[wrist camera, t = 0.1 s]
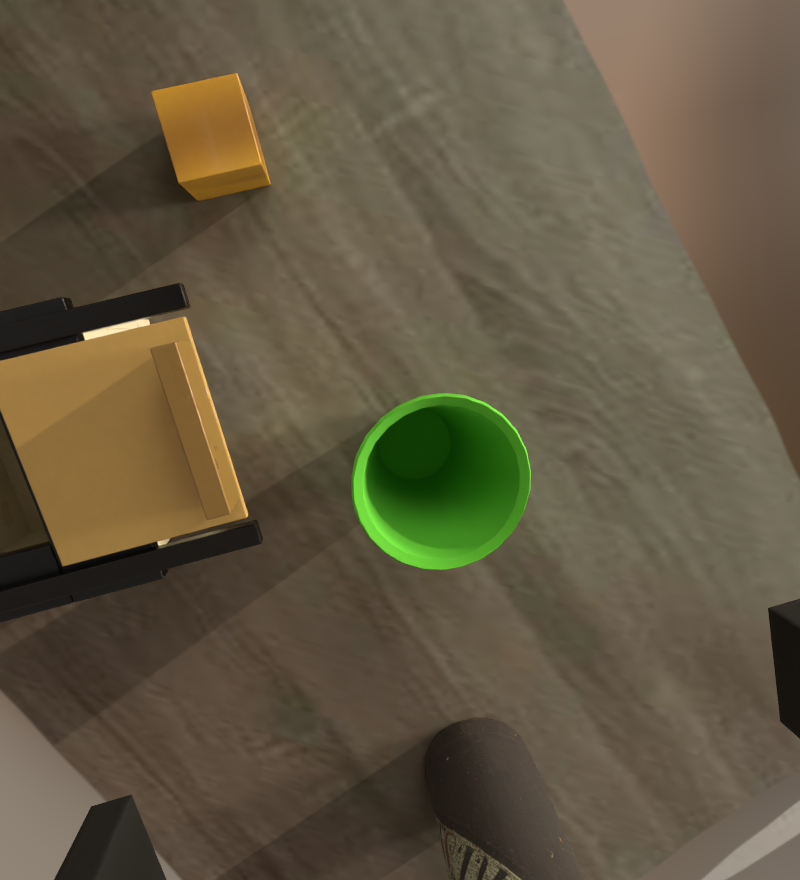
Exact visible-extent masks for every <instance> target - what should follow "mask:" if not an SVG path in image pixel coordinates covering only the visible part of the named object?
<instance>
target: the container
mask: <svg viewBox="0 0 800 880" xmlns="http://www.w3.org/2000/svg"><path fill="white" fill-rule="evenodd" d="M425 773H426V778H427V783H428V788H429V792H430V796H431V801H432V805H433V809H434V814H435V818H436V822H437V827H438V831H439V835H440V840H441V844H442V848H443V853H444V857H445V862H446V866H447V871H448V875H449V879H450V880H586V878H585V876H584V874H583V872H582V870H581V867H580V865H579V863H578V861H577V858H576V856H575V854H574V852H573V849H572V847H571V845H570V843H569V841H568V838H567V836H566V834H565V832H564V829H563V827H562V825H561V823H560V820H559V818H558V816H557V814H556V811H555V809H554V807H553V804H552V802H551V800H550V798H549V795H548V793H547V791H546V788H545V786H544V784H543V781H542V779H541V777H540V774H539V772H538V770H537V768H536V765H535V763H534V761H533V759H532V756H531V754H530V752H529V750H528V748H527V746H526V744H525V742H524V741H523V739H522V738H521V736H520V735H519V734H518V733H517V732H516V731H515V730H513V729H512V728H511V727H509V726H507V725H505V724H503V723H501V722H498V721H495V720H491V719H483V718H476V719H469V720H464V721H461V722H458V723H456V724H454V725H452V726H450V727H448V728H447V729H445V730H443V731H442V732H441V733H440V734H439V735H438V736H437V737H436V738H435V739H434V740H433V742H432V744H431V745H430V747H429V750H428V752H427V756H426V762H425Z"/></svg>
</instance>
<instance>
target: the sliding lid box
mask: <svg viewBox="0 0 800 880" xmlns="http://www.w3.org/2000/svg"><path fill="white" fill-rule="evenodd" d="M188 308H190V304H189V300H188V297H187V294H186V291H185V288H184V285H183V284H180V283H177V284H173V285H169V286H165V287H160V288H156V289H152V290H148V291H143V292H139V293H135V294H131V295H127V296H122V297H118V298H114V299H110V300H106V301H101V302H97V303H93V304H89V305H85V306H80V307H76V308H74V307H73V304H72V301H71V299H70V298H63V297H60V298H56V299H52V300H47V301H43V302H39V303H35V304H30V305H26V306H22V307H18V308H13V309H9V310H5V311H1V312H0V361H2V360H6V359H10V358H14V357H18V356H22V355H26V354H31V353H35V352H39V351H43V350H47V349H51V348H56V347H60V346H64V345H68V344H72V343H76V342H80V341H85V340H89V339H93V338H97V337H101V336H105V335H109V334H114V333H118V332H122V331H126V330H130V329H134V328H138V327H143V326H147V325H150V322H149V320H144V319H146V318H150V317H155V316H159V315H163V314H167V313H171V312H175V311H180V310H184V309H188ZM169 540H170V538H169V539H165V540H161V541H157V542H153V543H150V544H146V545H142V546H138V547H135V548H131V549H127V550H123V551H120V552H116V553H112V554H108V555H105V556H101V557H97V558H93V559H89V560H86V561H82V562H78V563H74V564H71V565H67V566H62V563H61V561H60V558H59V556H58V553H57V551H56V548H55V546H54V543H53V541H52V538H51V536H50V533H49V531H48V528H47V526H46V523H45V521H44V518H43V516H42V513H41V511H40V508H39V506H38V503H37V501H36V498H35V496H34V493H33V491H32V488H31V486H30V483H29V481H28V478H27V476H26V473H25V471H24V468H23V466H22V463H21V461H20V458H19V456H18V453H17V451H16V448H15V446H14V443H13V441H12V438H11V436H10V433H9V431H8V428H7V426H6V423H5V421H4V418H3V416H2V413H1V411H0V622H3V621H7V620H11V619H14V618H18V617H22V616H26V615H29V614H33V613H37V612H40V611H44V610H48V609H51V608H55V607H59V606H63V605H66V604H70V603H73V602H78V601H81V600H85V599H89V598H92V597H96V596H100V595H104V594H107V593H111V592H115V591H118V590H122V589H126V588H130V587H133V586H137V585H141V584H144V583H148V582H152V581H155V580H159V579H163V578H164V576H165V575H166V573H167V572H168V570H167V569H169V568H172V567H176V566H180V565H183V564H187V563H191V562H195V561H198V560H202V559H206V558H209V557H213V556H217V555H221V554H224V553H228V552H232V551H235V550H239V549H243V548H247V547H250V546H254V545H258V544H261V543H262V540H263V537H262V534H261V530H260V527H259V524H258V521H257V520H254V521H250V522H246V523H242V524H238V525H235V526H231V527H227V528H223V529H220V530H216V531H212V532H208V533H205V534H201V535H197V536H193V537H190V538H186V539H182V540H178V541H175V542H171V543H167V542H168V541H169Z"/></svg>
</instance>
